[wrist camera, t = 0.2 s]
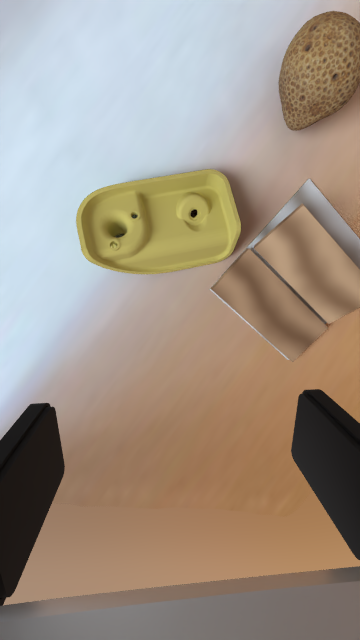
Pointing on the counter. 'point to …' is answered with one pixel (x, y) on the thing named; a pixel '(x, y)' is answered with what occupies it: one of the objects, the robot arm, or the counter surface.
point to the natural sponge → (320, 69)
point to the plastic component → (160, 223)
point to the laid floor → (282, 281)
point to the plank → (313, 264)
